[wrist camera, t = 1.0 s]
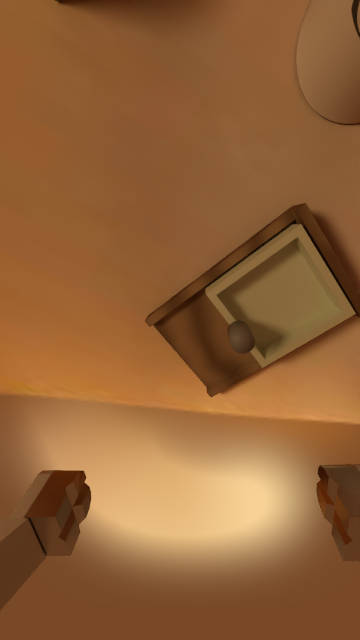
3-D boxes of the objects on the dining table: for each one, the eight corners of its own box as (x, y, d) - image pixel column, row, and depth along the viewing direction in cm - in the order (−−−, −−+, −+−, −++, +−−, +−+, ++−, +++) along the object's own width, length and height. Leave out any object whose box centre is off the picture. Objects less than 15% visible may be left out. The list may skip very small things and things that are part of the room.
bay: (292, 206, 34) (305, 203, 29) (352, 304, 37) (371, 314, 33) (148, 315, 41) (141, 325, 37) (210, 388, 45) (211, 405, 40)
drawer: (290, 224, 33) (315, 223, 26) (340, 304, 37) (375, 324, 29) (199, 291, 38) (199, 307, 30) (251, 358, 41) (262, 387, 33)
